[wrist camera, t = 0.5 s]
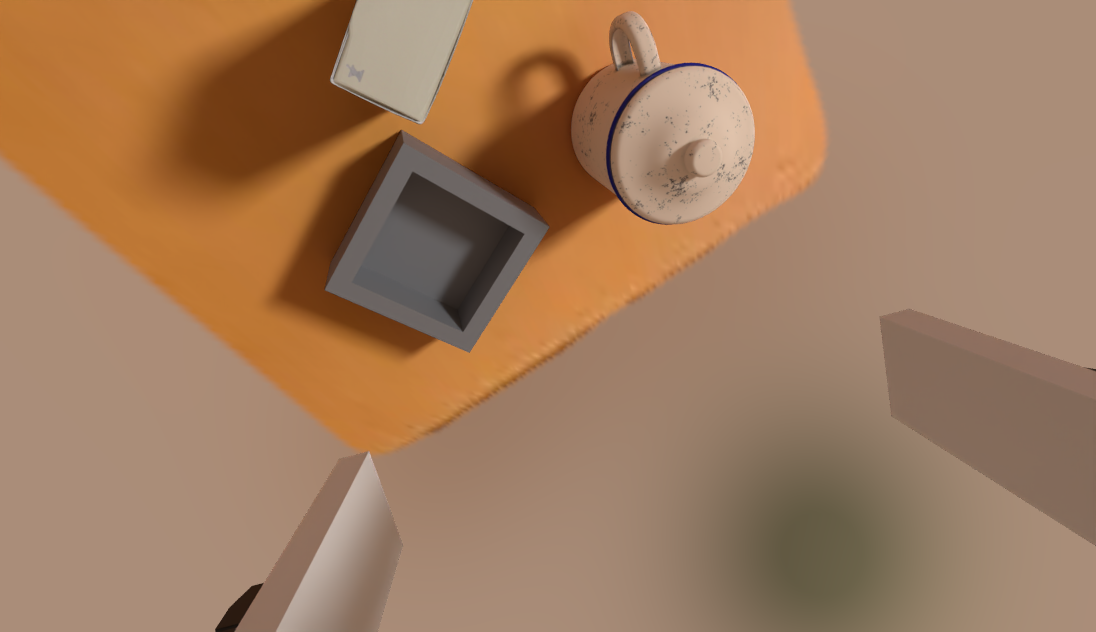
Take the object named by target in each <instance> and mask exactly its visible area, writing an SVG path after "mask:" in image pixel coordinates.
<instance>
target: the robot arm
mask: <svg viewBox="0 0 1096 632" xmlns="http://www.w3.org/2000/svg"><path fill="white" fill-rule="evenodd" d="M880 324H881V333H882V340H883V349H884V358H885V366H886V374H887V383H888V391H889V400H890V408H891V416H892V417H893V418H895V419H897V420H898V421H900V422H901V423H903V424H904V425H906V426H908V427H909V428H911V429H912V430H914V431H916V432H917V433H919V434H920V435H922V436H924V437H925V438H927V439H928V440H930V441H932V442H933V443H934V444H936V445H938V446H939V447H941V448H942V449H944V450H945V451H947V452H949V453H950V454H952V455H953V456H955V457H956V458H958V459H960V460H961V461H963V462H965V463H966V464H968V465H969V466H971V467H972V468H974V469H975V470H977V471H979V472H980V473H982V474H983V475H985V476H986V477H988V478H990V479H991V480H993V481H994V482H996V483H998V484H999V485H1001V486H1002V487H1004V488H1005V489H1007V490H1008V491H1010V492H1012V493H1013V494H1015V495H1016V496H1018V497H1019V498H1021V499H1023V500H1024V501H1026V502H1027V503H1029V504H1031V505H1032V506H1034V507H1035V508H1037V509H1038V510H1040V511H1042V512H1043V513H1045V514H1046V515H1048V516H1050V517H1051V518H1053V519H1054V520H1056V521H1058V522H1059V523H1060V524H1062V525H1064V526H1065V527H1067V528H1069V529H1070V530H1072V531H1073V532H1075V533H1076V534H1078V535H1079V536H1081V537H1083V538H1084V539H1086V540H1087V541H1089V542H1090V543H1092V544H1094V545H1095V546H1096V369H1091V368H1085V367H1081V366H1078V365H1075V364H1072V363H1069V362H1066V361H1063V360H1060V359H1057V358H1054V357H1051V356H1048V355H1045V354H1042V353H1040V352H1037V351H1034V350H1030V349H1028V348H1025V347H1022V346H1019V345H1016V344H1012V343H1010V342H1007V341H1004V340H1001V339H997V338H994V337H992V336H989V335H986V334H983V333H980V332H977V331H974V330H971V329H968V328H965V327H962V326H959V325H956V324H953V323H950V322H947V321H944V320H941V319H938V318H935V317H932V316H929V315H926V314H923V313H920V312H917V311H914V310H912V309H907V310H903V311H899V312H896V313H892V314H888V315H884V316H880ZM402 547H403V543H402V540H401V538H400V535H399V532H398V529H397V527H396V524H395V521H394V518H393V516H392V513H391V510H390V507H389V505H388V502H387V499H386V497H385V494H384V491H383V488H382V486H381V483H380V480H379V477H378V475H377V472H376V469H375V466H374V464H373V461H372V458H371V455H370V453H369V451H368V452H364V453H360V454H357V455H353V456H349V457H345V458H342V459H339V460H338V462H337V464H336V465H335V467H334V469H333V470H332V472H331V474H330V475H329V477H328V478H327V480H326V482H325V483H324V485H323V487H322V488H321V490H320V492H319V493H318V495H317V497H316V498H315V500H314V502H313V503H312V505H311V507H310V508H309V510H308V512H307V513H306V515H305V516H304V518H303V520H302V522H301V523H300V525H299V526H298V528H297V530H296V531H295V533H294V535H293V536H292V538H291V540H290V541H289V543H288V545H287V546H286V548H285V550H284V551H283V553H282V554H281V556H280V558H279V559H278V561H277V562H276V564H275V566H274V567H273V569H272V571H271V573H270V574H269V576H268V577H267V579H266V581H265V582H264V583H262V584H258V585H254V586H251V587H250V589H248V590H247V591H246V592H245V593H244V594H243V595H242V596H241V597H240V598H239V599H238V600H237V601H236V602H235V603H234V604H233V605H232V606H231V607H230V608H229V609H228V611H227V612H226V614H225V615H224V617H223V618H222V620H221V621H220V623H219V624H218V626H217V627H216V629H215V631H216V632H378V629H379V625H380V622H381V618H382V615H383V612H384V608H385V605H386V601H387V598H388V594H389V591H390V588H391V584H392V581H393V577H394V574H395V570H396V567H397V564H398V560H399V557H400V554H401V550H402Z"/></svg>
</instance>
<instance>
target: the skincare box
mask: <svg viewBox="0 0 1096 632" xmlns="http://www.w3.org/2000/svg"><path fill="white" fill-rule="evenodd" d="M472 2H473V0H357V1H356V4H355V7H354V9H353V12H352V16H351V19H350V22H349V24H348V27H347V30H346V33H345V36H344V39H343V42H342V45H341V48H340V51H339V54H338V57H337V60H336V63H335V66H334V69H333V72H332V75H331V78H330V82H331V83H332V84H334V85H336V86H338V87H340V88H342V89H344V90H346V91H348V92H350V93H352V94H354V95H356V96H358V97H360V98H362V99H364V100H366V101H368V102H370V103H372V104H374V105H376V106H379V107H381V108H383V109H385V110H387V111H389V112H392V113H394V114H396V115H398V116H401V117H403V118H405V119H408V120H410V121H413V122H415V123H417V124H422V123H423V122H424V121H425V119H426V117H427V115H428V113H429V111H430V108H431V106H432V104H433V102H434V100H435V97H436V95H437V93H438V91H439V88H440V86H441V84H442V81H443V79H444V76H445V74H446V71H447V69H448V67H449V64H450V61H451V59H452V56H453V54H454V51H455V48H456V46H457V43H458V41H459V38H460V35H461V33H462V30H463V27H464V24H465V21H466V19H467V16H468V13H469V10H470V8H471V5H472Z"/></svg>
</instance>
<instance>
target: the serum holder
mask: <svg viewBox="0 0 1096 632" xmlns="http://www.w3.org/2000/svg"><path fill="white" fill-rule="evenodd" d="M548 229H549V226H548V224H547V223H546V222H545V221H544V219H543V218H542V217H541V216H540V214H539V213H538V212H537V211H536V209H535V208H534V207H532V206H530V205H529V204H527V203H525V202H524V201H522V200H520V199H519V198H517V197H515V196H513V195H512V194H510V193H508V192H507V191H505V190H503V189H501V188H500V187H498V186H496V185H495V184H493V183H491V182H490V181H488V180H486V179H484V178H483V177H481V176H479V175H478V174H476V173H474V172H473V171H471V170H469V169H467V168H466V167H464V166H462V165H461V164H459V163H457V162H455V161H454V160H452V159H450V158H449V157H447V156H445V155H444V154H442V153H440V152H438V151H437V150H435V149H433V148H432V147H430V146H428V145H427V144H425V143H423V142H421V141H420V140H418V139H416V138H415V137H413V136H411V135H410V134H408V133H406V132H404V131H403V130H401V132H400V134H399V136H398V138H397V139H396V141H395V143H394V145H393V147H392V149H391V151H390V153H389V154H388V156H387V158H386V160H385V162H384V164H383V166H382V168H381V169H380V171H379V173H378V175H377V177H376V179H375V181H374V183H373V184H372V186H371V188H370V190H369V192H368V194H367V196H366V198H365V199H364V201H363V203H362V205H361V207H360V209H359V211H358V213H357V215H356V216H355V218H354V220H353V222H352V224H351V226H350V228H349V230H348V231H347V233H346V235H345V237H344V239H343V241H342V243H341V245H340V246H339V248H338V250H337V252H336V254H335V256H334V258H333V260H332V261H331V263H330V267H329V272H328V276H327V281H326V286H325V290H326V291H328V292H330V293H332V294H335V295H337V296H339V297H342V298H344V299H346V300H349V301H351V302H353V303H356V304H358V305H360V306H363V307H365V308H367V309H370V310H372V311H374V312H376V313H379V314H381V315H383V316H386V317H388V318H390V319H393V320H395V321H397V322H400V323H402V324H404V325H407V326H409V327H411V328H414V329H416V330H418V331H420V332H423V333H425V334H427V335H430V336H432V337H434V338H437V339H439V340H441V341H444V342H446V343H448V344H451V345H453V346H455V347H458V348H460V349H462V350H464V351H467V352H469V353H470V351H471V350H472V348H473V346H474V345H475V343H476V342H477V340H478V339H479V337H480V336H481V334H482V332H483V331H484V329H485V328H486V326H487V325H488V323H489V321H490V320H491V318H492V317H493V315H494V314H495V312H496V310H497V309H498V307H499V306H500V304H501V303H502V301H503V299H504V298H505V296H506V295H507V293H508V292H509V290H510V288H511V287H512V285H513V284H514V282H515V281H516V279H517V277H518V276H519V274H520V273H521V271H522V270H523V268H524V266H525V265H526V263H527V262H528V260H529V259H530V257H531V255H532V254H533V252H534V251H535V249H536V248H537V246H538V244H539V243H540V241H541V240H542V238H543V237H544V235H545V233H546V232H547V230H548Z"/></svg>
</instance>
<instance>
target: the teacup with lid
mask: <svg viewBox="0 0 1096 632" xmlns="http://www.w3.org/2000/svg"><path fill="white" fill-rule="evenodd" d="M629 41H630V42H629ZM630 43H631V46H632V48H633V51H634V54H635V57H636V59H633V57H632V53H631V48H630ZM609 45H610V51H611V56H612V60H613V64H611V65H609V66H607V67H606V68H604V69H603V70H601V71H600V72H599V73H597V74H596V75H595V76H594V77H593V78H592V79H591V80H590V81H589V82H588V84H587V85H586V86H585V88H584V89H583V91H582V92H581V94H580V96H579V98H578V100H577V102H576V105H575V108H574V112H573V116H572V122H571V137H572V144H573V148H574V151H575V154H576V156H577V158H578V160H579V162H580V164H581V165H582V167H583V168H584V169H585V170H586V172H587V173H588V174H589V175H591V176H592V177H593V178H594V179H596V180H597V181H598V182H600V183H601V184H602V185H603V186H605V187H606V188H607V189H609V190H610V191H611V192H613V193H614V194H615V195H617V197H618V198H619V200H620V201H621V202H622V204H623V205H624V206H625V207H626V208H627V209H628V210H629V211H631V212H632V213H633V214H635V215H636V216H638V217H640V218H642V219H644V220H646V221H649V222H652V223H657V224H665V225H672V224H683V223H687V222H691V221H694V220H697V219H699V218H702V217H704V216H705V215H707V214H709V213H711V212H712V211H714V210H715V209H717V208H718V207H719V206H720V205H722V204H723V203H724V202H725V201H726V200H727V199H728V198H729V197H730V196H731V195H732V193H733V192H734V191H735V190H736V188H737V187H738V185H739V184H740V182H741V181H742V179H743V177H744V175H745V173H746V171H747V169H748V166H749V164H750V161H751V157H752V153H753V148H754V139H755V127H754V119H753V114H752V110H751V107H750V105H749V102H748V100H747V98H746V96H745V95H744V93H743V91H742V90H741V89H740V87H739V86H738V85H737V83H736V82H735V81H734V80H733V79H732V78H730V77H729V76H728V75H727V74H725V73H724V72H722V71H721V70H719V69H717V68H714V67H712V66H709V65H705V64H700V63H681V64H669V63H663V62H660V60H659V56H658V52H657V48H656V45H655V41H654V39H653V36H652V33H651V31H650V29H649V27H648V25H647V24H646V22H645V21H644V19H643V18H642V17H641V16H640V15H639V14H637V13H636V12H632V11H629V12H626V13H623V14H621V15H619V16H617V17H616V18H615V19H614V20H613V22H612V24H611V27H610V31H609Z"/></svg>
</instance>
